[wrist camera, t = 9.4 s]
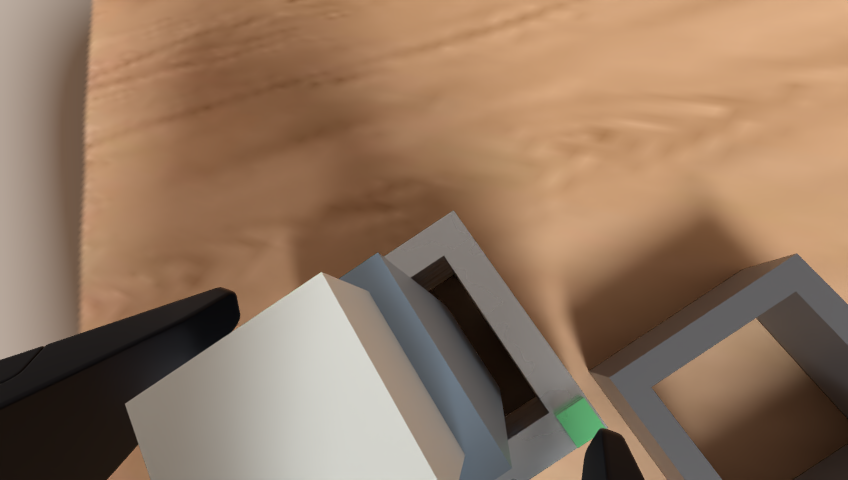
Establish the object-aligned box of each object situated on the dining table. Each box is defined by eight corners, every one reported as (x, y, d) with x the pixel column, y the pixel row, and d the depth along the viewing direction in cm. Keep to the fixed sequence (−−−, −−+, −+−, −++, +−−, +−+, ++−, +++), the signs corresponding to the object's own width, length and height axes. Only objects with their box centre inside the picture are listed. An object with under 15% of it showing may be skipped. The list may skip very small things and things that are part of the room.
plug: (419, 441, 16) (190, 748, 4) (371, 356, 18) (81, 389, 5) (499, 387, 16) (521, 528, 4) (446, 306, 18) (335, 219, 5)
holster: (727, 562, 14) (788, 619, 11) (588, 371, 16) (609, 377, 13) (906, 444, 14) (1014, 470, 11) (742, 269, 16) (797, 253, 13)
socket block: (402, 524, 16) (370, 590, 12) (309, 339, 18) (253, 338, 14) (579, 407, 16) (611, 430, 12) (461, 238, 18) (452, 206, 14)
